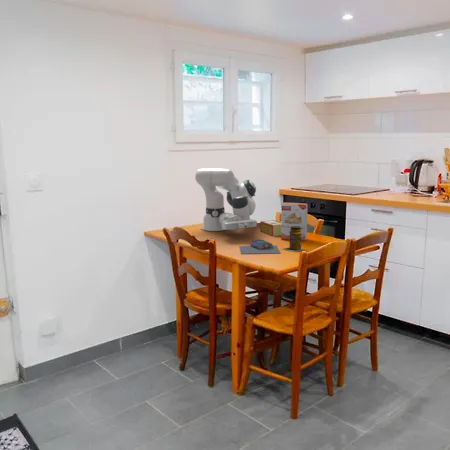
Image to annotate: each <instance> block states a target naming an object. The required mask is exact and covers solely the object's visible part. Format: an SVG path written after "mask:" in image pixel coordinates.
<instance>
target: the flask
mask: <svg viewBox="0 0 450 450" xmlns="http://www.w3.org/2000/svg"><path fill="white" fill-rule="evenodd" d="M249 244H250V245H249V246H253V247H256V248H258V249H262V248H272V247H273V245H274V244H273V243H272V242H268V241H266V240H264V239H256V240H252V241H251V242H250V243H249Z"/></svg>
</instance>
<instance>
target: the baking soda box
mask: <svg viewBox="0 0 450 450" xmlns="http://www.w3.org/2000/svg"><path fill="white" fill-rule="evenodd" d="M259 224H260V225H259V226H260V227H259V231H260V233H263V234H265V235H268V236H270V237H279V236H280V237H281V222H280V221H277V220H275V219H272V220H265V221H264V220H261V221H260V223H259Z"/></svg>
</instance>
